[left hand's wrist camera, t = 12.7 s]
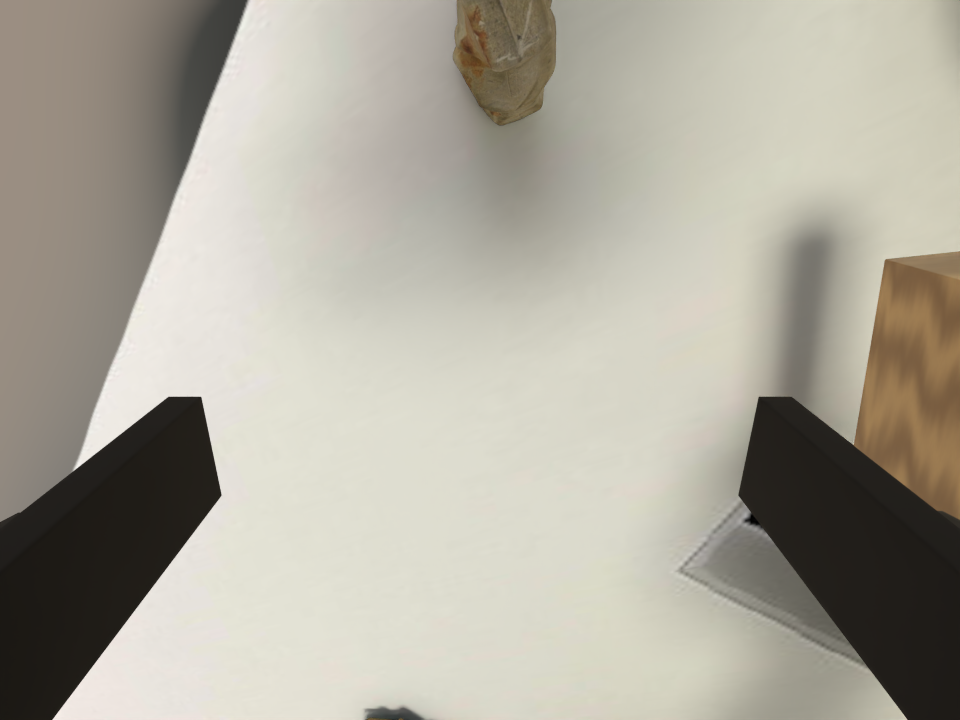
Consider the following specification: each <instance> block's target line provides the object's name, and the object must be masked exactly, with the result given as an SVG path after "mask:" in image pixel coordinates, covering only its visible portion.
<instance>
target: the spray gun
mask: <svg viewBox="0 0 960 720" xmlns="http://www.w3.org/2000/svg"><path fill="white" fill-rule="evenodd" d="M366 720H390V719H379V718H368V719H366ZM398 720H403V719H402V718H400V719H398Z"/></svg>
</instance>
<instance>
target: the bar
mask: <svg viewBox="0 0 960 720" xmlns="http://www.w3.org/2000/svg"><path fill="white" fill-rule="evenodd" d="M854 446H855V447H856V448H857V449H859V450H860V451H861V452H862V453H864V454H865V455H866V456H868V457H869V458H870V459H871V460H873V461H874V462H875V463H877V464H878V465H879V466H880V467H882V468H883V469H884V470H885V471H887V472H888V473H889V474H891V475H892V476H893V477H894V478H896V479H897V480H898V481H900V482H901V483H902V484H903V485H905V486H906V487H907V488H908V489H910V490H911V491H912V492H914V493H915V494H916V495H917V496H919V497H920V498H921V499H923V500H924V501H925V502H926V503H928V504H929V505H930V506H931V507H933V508H934V509H935V510H937V511H944V512H946V513H948V514H949V515H951V516H953V517H955V518H957V519H959V520H960V252H950V253H941V254H931V255H922V256H913V257H903V258H894V259H886V260H885V263H884V269H883V275H882V281H881V287H880V293H879V299H878V305H877V311H876V317H875V323H874V329H873V334H872V340H871V346H870V352H869V358H868V364H867V370H866V376H865V382H864V388H863V394H862V400H861V406H860V412H859V418H858V424H857V429H856V435H855V441H854Z"/></svg>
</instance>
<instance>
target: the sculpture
mask: <svg viewBox="0 0 960 720" xmlns="http://www.w3.org/2000/svg"><path fill="white" fill-rule="evenodd" d="M551 2H552V0H457V18H458V22H457V26H456V29H455V42H456V48H455V50H454V53H453V60H454V62H455V64H456V65H457V67H458V69H459V70H460V72H461V73H462V75H463V77H464V79H465V81H466V83H467V85H468V86H469V88H470V90H471V91H472V93H473V95H474V96H475V98H476V99H477V102H478V104H479V106H480V107H482V108H483V109H484V111H485V112H486V113H487V115H488V116H489V117H490V118H491V119H492V120H493V121H494V122H495V123H496V124H498V125H505V124H508V123H511V122H514V121H517V120H519V119H521V118H523V117H526V116H528V115H530V114H532V113H534V112H536V111H538V110H539V109H540V108H541V107H542V103H543V92H544V86H545V85H546V83H547V82H548V80H549V79H550V77H551V76H552V74H553V72H554V69H555V62H556V24H555V18H554V15H553V13H552V11H551V9H550V6H551Z"/></svg>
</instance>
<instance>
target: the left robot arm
mask: <svg viewBox="0 0 960 720" xmlns="http://www.w3.org/2000/svg"><path fill="white" fill-rule="evenodd" d="M220 497H221V490H220V485H219V481H218V476H217V471H216V466H215V461H214V456H213V452H212V447H211V442H210V437H209V432H208V427H207V423H206V418H205V413H204V408H203V403H202V398H201V397H168V398H166V399H165V400H164V401H163V402H161V403H160V404H159V405H158V406H156V407H155V408H154V409H152V410H151V411H150V412H149V413H147V414H146V415H145V416H143V417H142V418H141V419H140V420H138V421H137V422H136V423H135V424H133V425H132V426H131V427H129V428H128V429H127V430H126V431H124V432H123V433H122V434H121V435H119V436H118V437H117V438H115V439H114V440H113V441H112V442H110V443H109V444H108V445H106V446H105V447H104V448H103V449H101V450H100V451H99V452H98V453H96V454H95V455H94V456H92V457H91V458H90V459H89V460H87V461H86V462H85V463H83V464H82V465H81V466H80V467H78V468H77V469H76V470H75V471H73V472H72V473H71V474H69V475H68V476H67V477H66V478H64V479H63V480H62V481H60V482H59V483H58V484H57V485H55V486H54V487H53V488H52V489H50V490H49V491H48V492H46V493H45V494H44V495H43V496H41V497H40V498H39V499H37V500H36V501H35V502H34V503H32V504H31V505H30V506H29V507H27V508H26V509H25V510H23V511H22V512H21V513H17V514H15V515H13V516H11V517H9V518H7V519H5V520H3V521H2V522H0V720H52V719H53V718H54V717H55V715H56V714H57V713H58V711H59V710H60V709H61V707H62V706H63V705H64V703H65V702H66V701H67V699H68V698H69V697H70V696H71V694H72V693H73V692H74V690H75V689H76V688H77V686H78V685H79V684H80V682H81V681H82V680H83V678H84V677H85V676H86V674H87V673H88V672H89V670H90V669H91V668H92V666H93V665H94V664H95V662H96V661H97V660H98V658H99V657H100V656H101V654H102V653H103V652H104V650H105V649H106V648H107V646H108V645H109V644H110V643H111V641H112V640H113V639H114V637H115V636H116V635H117V633H118V632H119V631H120V629H121V628H122V627H123V625H124V624H125V623H126V621H127V620H128V619H129V617H130V616H131V615H132V613H133V612H134V611H135V609H136V608H137V607H138V605H139V604H140V603H141V601H142V600H143V599H144V597H145V596H146V595H147V594H148V592H149V591H150V590H151V588H152V587H153V586H154V584H155V583H156V582H157V580H158V579H159V578H160V576H161V575H162V574H163V572H164V571H165V570H166V568H167V567H168V566H169V564H170V563H171V562H172V560H173V559H174V558H175V556H176V555H177V554H178V552H179V551H180V550H181V548H182V547H183V546H184V545H185V543H186V542H187V541H188V539H189V538H190V537H191V535H192V534H193V533H194V531H195V530H196V529H197V527H198V526H199V525H200V523H201V522H202V521H203V519H204V518H205V517H206V515H207V514H208V513H209V511H210V510H211V509H212V507H213V506H214V505H215V503H216V502H217V501H218V499H219V498H220ZM739 497H740V498H741V499H742V501H743V502H744V503H745V505H746V506H747V507H748V509H749V510H750V511H751V513H752V514H753V515H754V517H755V518H756V519H757V521H758V522H759V523H760V525H761V526H762V527H763V529H764V530H765V531H766V533H767V534H768V535H769V537H770V538H771V539H772V541H773V542H774V543H775V545H776V546H777V547H778V548H779V550H780V551H781V552H782V554H783V555H784V556H785V558H786V559H787V560H788V562H789V563H790V564H791V566H792V567H793V568H794V570H795V571H796V572H797V574H798V575H799V576H800V578H801V579H802V580H803V582H804V583H805V584H806V586H807V587H808V588H809V590H810V591H811V592H812V594H813V595H814V596H815V597H816V599H817V600H818V601H819V603H820V604H821V605H822V607H823V608H824V609H825V611H826V612H827V613H828V615H829V616H830V617H831V619H832V620H833V621H834V623H835V624H836V625H837V627H838V628H839V629H840V631H841V632H842V633H843V635H844V636H845V637H846V639H847V640H848V641H849V643H850V644H851V645H852V647H853V648H854V649H855V650H856V652H857V653H858V654H859V656H860V657H861V658H862V660H863V661H864V662H865V664H866V665H867V666H868V668H869V669H870V670H871V672H872V673H873V674H874V676H875V677H876V678H877V680H878V681H879V682H880V684H881V685H882V686H883V688H884V689H885V690H886V692H887V693H888V694H889V696H890V697H891V698H892V699H893V701H894V702H895V703H896V705H897V706H898V707H899V709H900V710H901V711H902V713H903V714H904V715H905V717H906V718H907V719H908V720H960V520H959V519H957V518H955V517H953V516H951V515H949V514H948V513H946V512H944V511H937V510H935V509H934V508H933V507H931V506H930V505H929V504H928V503H926V502H925V501H924V500H923V499H921V498H920V497H919V496H917V495H916V494H915V493H914V492H912V491H911V490H910V489H908V488H907V487H906V486H905V485H903V484H902V483H901V482H900V481H898V480H897V479H896V478H894V477H893V476H892V475H891V474H889V473H888V472H887V471H885V470H884V469H883V468H882V467H880V466H879V465H878V464H877V463H875V462H874V461H873V460H871V459H870V458H869V457H868V456H866V455H865V454H864V453H862V452H861V451H860V450H859V449H857V448H856V447H855V446H854V445H852V444H851V443H850V442H848V441H847V440H846V439H845V438H843V437H842V436H841V435H839V434H838V433H837V432H836V431H834V430H833V429H832V428H831V427H829V426H828V425H827V424H825V423H824V422H823V421H822V420H820V419H819V418H818V417H817V416H815V415H814V414H813V413H811V412H810V411H809V410H808V409H806V408H805V407H804V406H802V405H801V404H800V403H799V402H797V401H796V400H795V399H794V398H792V397H759V398H758V403H757V408H756V413H755V418H754V423H753V427H752V432H751V437H750V442H749V447H748V452H747V456H746V461H745V466H744V471H743V476H742V481H741V485H740V490H739Z"/></svg>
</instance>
